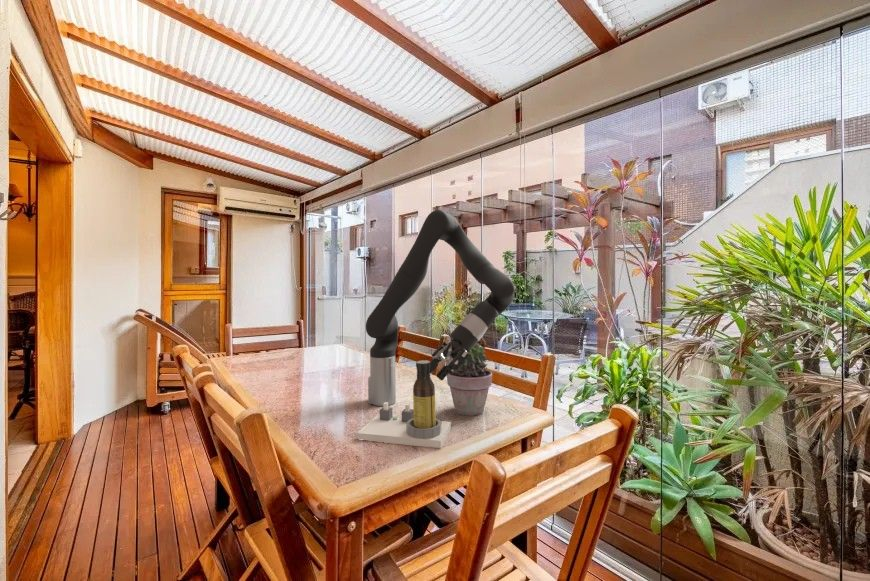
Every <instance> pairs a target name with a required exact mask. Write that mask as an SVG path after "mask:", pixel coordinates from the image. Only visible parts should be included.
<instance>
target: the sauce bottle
mask: <svg viewBox="0 0 870 581" xmlns="http://www.w3.org/2000/svg"><path fill="white" fill-rule="evenodd" d="M430 362H431V361H430V360H425V359H424V360H418V361H416V362H415V367H416V380H415V381H414V383H413V388H412V389H413V390H412V398H413V399H412V400H413V401H412V402H413V405H412V406H413V408H412V409H414V426H415V428H423V429H424V428H432V427H434V426H436V419H437V409H436V392H435V390H436V388H435V383H434V381H433V380H432V378H431V373H430Z"/></svg>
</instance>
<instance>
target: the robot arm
mask: <svg viewBox="0 0 870 581" xmlns="http://www.w3.org/2000/svg"><path fill="white" fill-rule="evenodd" d="M439 240H440V241H443V242H445V243H447V245H449V246H450V247H451V248H452V249H453V250H454V251H455V252H456V254H458V257H459V258H460V260H461V262H462V264H463V266H464V267H465V268H466V270H467V271H468V272H469V273H470V275H472V277H473V278H474V279H475V280H476V281H477V282H478V283H479V284H481V285H485V287H487V288H488V290H490V293H489V295H488V296H487V297H486V298H485V299H484V300H483V301H480V302H478V303H477V304H476V305H475V306H474V307H473V309H472V310H471V311H470V312H469V313H468V315H466V316H465V317H464V318H463V319H462V320H461V321H460V322H459V323H458V325H457V326H455V328H454V329H453V331H452V332H451V333H450V334H449V339H450V342H448V343H447V341H443V342H442V343H440V346H438V348H437V349H436V350H435V351H434V352H433V353H432V354H431V357H432V360H431V361H430V374H432V373H433V372H434V371H435V370H436V368H437V367H438V366H439V364H441V363H442V362H445V364H444V365H443V366H442V368H441V369H440V370H439V371H438V372H437V374H436V377H437V378H438V379H439V380H440V381H443V380H445V379H446V378H447V375H448V373H449V372H450V371H453V370H454V369H455V370H458V369H459V367H460V366H461V365H462V363H463V362H464V361H465V360H466V358H467V357H468V356H469V353H468V352H470V351H471V349H472V348H473V347H474V346H475V345H476V343H477V342H478V341H479V340H480V339H481V337H482V338H483V336H484V335H485V333H486V332H487V330H488V329H489V328H490V327H491V325H492V324H493V323H494V321H495V320H496V319H497V318H498V316H501V314H502V313H504V312H505V310H506V309H508V307H509V306H511V304H512V302H513V300H514V297H515V292H516V286H515V284H514V282H513V281H512V279H511V278H510V277H509V276H508V275H506V274H505V272H502V270H500V269H498V268H496V266H494V264H493V263H492V262H491V261H490V260H489V259H488V258H487V257H486V255H484V254H483V253H482V252H481V251H480V249H479V248H478V247H477V246H476V245H475V244H474V243H473V242H472V241H471V239H470V238H469V237H468V235H467V234H466V232H465V231H464V229H463V228H462V226H461V224H460V223H459V221H458V220H457V218H456V217H455V216H454V215H453V214H451V213H448V212H447V211H445V210H443V209H434V210H433V211H431V212H430V213H429V214H428V215H427V216H426V218H425V219H424V222H423V224H422V227H421V229H420V230H419V233H418V235H417V237H416V239H415V241H414V243H413V245H412V247H411V249H410V250H409V252H408V253H407V255H406V258H405V259H404V260H403V262H402V264H401V265H400V267H399V269H397V272H396V273H395V276H394V277H393V279H392V281H391V282H390V284H389V286H388V288H387V289H386V291H385V293H384V295H383V297H382V298H381V299H380V301H379V302H378V304H377V305H376V306H375V307H374V309H373V310H372V312H370V314H369V315H368V317H367V319H366V322H365V332H366V333H367V336H369V337H370V338H373V339H375V342H374V344H373V345H372V347H370V349H369V357H370V358H369V368H370V371H369V373H370V375H369V377H368V379H367V386H368V388H367V391H368V392H367V397H368V398H367V401H368V402H367V403H369V404H370V405H372V404H373V406H376V407H377V406H379V407H383V403H385V402H388V406H391V405H394V404H395V403H396V400H397V398H396V397H397V395H396V394H397V393H396V392H397V388H396V387H397V386H396V380H397V379H396V374H397V373H396V370H397V369H396V350H397V348H398V339H399V338H398V337H399V324H398V322H399V321H398V319H397V317H396V314H397V313H398V311H399V310H400V308H402V306H403V305H404V304H405V303H407V301H409V299H410V298H412V297H413V295H415V293H416V292H417V290H419V288H420V287H421V285H422V283H423V281H424V279H425V278H426V276H427V272H428V267H429V260H430V256H431V253H432V251H433V249H434V248H435V247H436V245H437V243H438V241H439ZM477 344H478V343H477ZM458 361H459V363H458ZM456 364H457V365H456ZM369 404H368V405H369Z"/></svg>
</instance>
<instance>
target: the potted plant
mask: <svg viewBox="0 0 870 581" xmlns="http://www.w3.org/2000/svg"><path fill="white" fill-rule="evenodd" d="M486 347H487V342H486V340H485V339H484V338H483V336H482V337H481V339H480V340H479V341H478V342H477V343H476V345H475V346H474V347H473V348H472V349H471V351H470V352H468V353H469V356H468V357H467V358H466V360H465V361H464V362H463V363H462V365H461V366H460V367H459V369H458V370H455V369H454V370H453V371H450V372H449V373H448V375H447V376H446V384H447V385H448V387H449V389H450V392H451V393H450V394H451V398H452V402H453V407H454V410H455V413H456V414H458V413H459V415H461V414H462V415H463V416H467V415H473V416H478V415H482V413H484V412H485V408H486V403H487V397H488V394H489V389H490V387H492V382H493V371H490V370H488V367H487V366H488V363H486V362H487V360H488V362H489V363H491V361H490V360H489V359H488V358H487V356H488V354H487V355H486V354H484V353H485V350H484V349H485V348H486ZM458 363H459V361H458ZM456 365H457V364H456ZM462 415H461V416H462Z"/></svg>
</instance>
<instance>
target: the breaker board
mask: <svg viewBox="0 0 870 581" xmlns="http://www.w3.org/2000/svg"><path fill="white" fill-rule="evenodd" d="M404 406H405V407H404V409H402V411H401V417H397V416H393V407H389V405H388V402H385V403H383V406H382V408H380V410H379V415H375V417H373V418H372V419H371V420H370V421H369V422H368V423H367V424H365V425H364V426H363V427H362V428H361V429H360V430H359V431H358V432H357V436H356V438H357V439H363V440H369V441H368V442H372V441H377V442H376V443H382V442H384V444H395V445H404V446H415V447H422V448H423V447H425V448H433V449H442V447H443V445H444V443H445V442H446V439H447V437H448V435H449V433H450V432H451V429H452V422H451V421H443V420H440V419H439V418H436V426H434V427H432V428H424V429H423V428H415V426H414V409H413V408H411V404H410V403H406V404H405V405H404Z"/></svg>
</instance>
